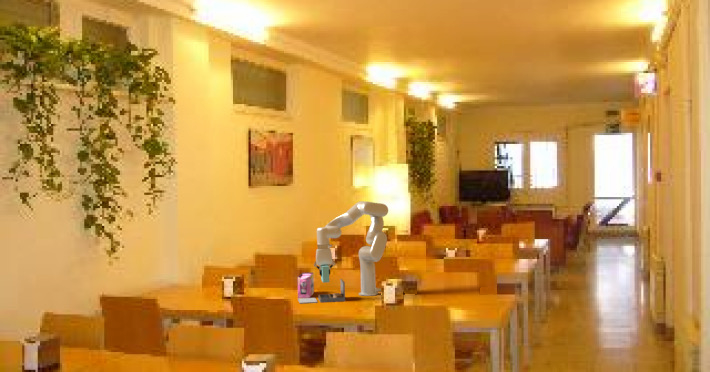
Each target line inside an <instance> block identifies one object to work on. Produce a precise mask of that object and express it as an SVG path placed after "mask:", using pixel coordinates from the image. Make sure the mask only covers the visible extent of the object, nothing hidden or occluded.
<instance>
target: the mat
mask: <svg viewBox="0 0 710 372" xmlns="http://www.w3.org/2000/svg"><path fill="white" fill-rule="evenodd" d="M297 301H298V302H299V303H298V304H300V305H301V304H303V305H304V304H318V300H317V299H316V297H310V298H297Z"/></svg>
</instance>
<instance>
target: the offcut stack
mask: <svg viewBox="0 0 710 372" xmlns="http://www.w3.org/2000/svg"><path fill="white" fill-rule="evenodd" d="M332 294H333V298H336V297H343V295H341V292H340V293H339V292H336V293H332Z"/></svg>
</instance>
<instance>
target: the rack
mask: <svg viewBox="0 0 710 372" xmlns="http://www.w3.org/2000/svg"><path fill="white" fill-rule="evenodd" d="M339 280H340V294H341V295H343V297H336V298H333V293H330V294H327V293H326V294H318V297H317V298H318V301H319V302H320V303H336V302H338V303H340V302H346V287H345V285H346V284H345V283H346V282H345V281H344V280H343V278H340V279H339Z"/></svg>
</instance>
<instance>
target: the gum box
mask: <svg viewBox="0 0 710 372" xmlns="http://www.w3.org/2000/svg"><path fill="white" fill-rule="evenodd" d="M314 293H315V282H314V272H301V274H300V275H298V276H297V299H301V298H312V296H313V294H314Z"/></svg>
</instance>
